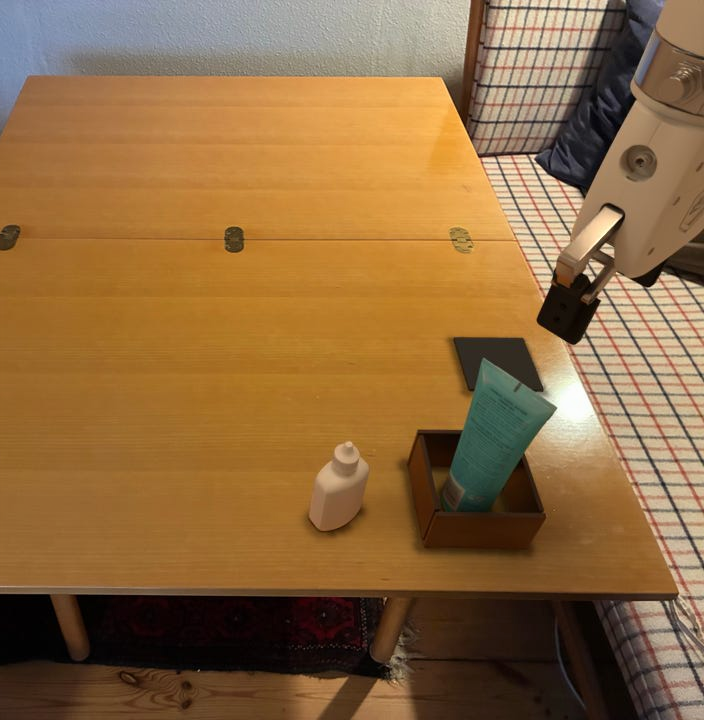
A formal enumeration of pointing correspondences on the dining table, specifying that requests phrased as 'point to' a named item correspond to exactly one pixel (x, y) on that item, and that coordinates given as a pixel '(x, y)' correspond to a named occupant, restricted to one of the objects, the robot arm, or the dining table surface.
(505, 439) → the tube
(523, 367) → the mat
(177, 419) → the dining table surface
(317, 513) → the eye dropper bottle
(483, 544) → the tube holder
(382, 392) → the dining table surface
